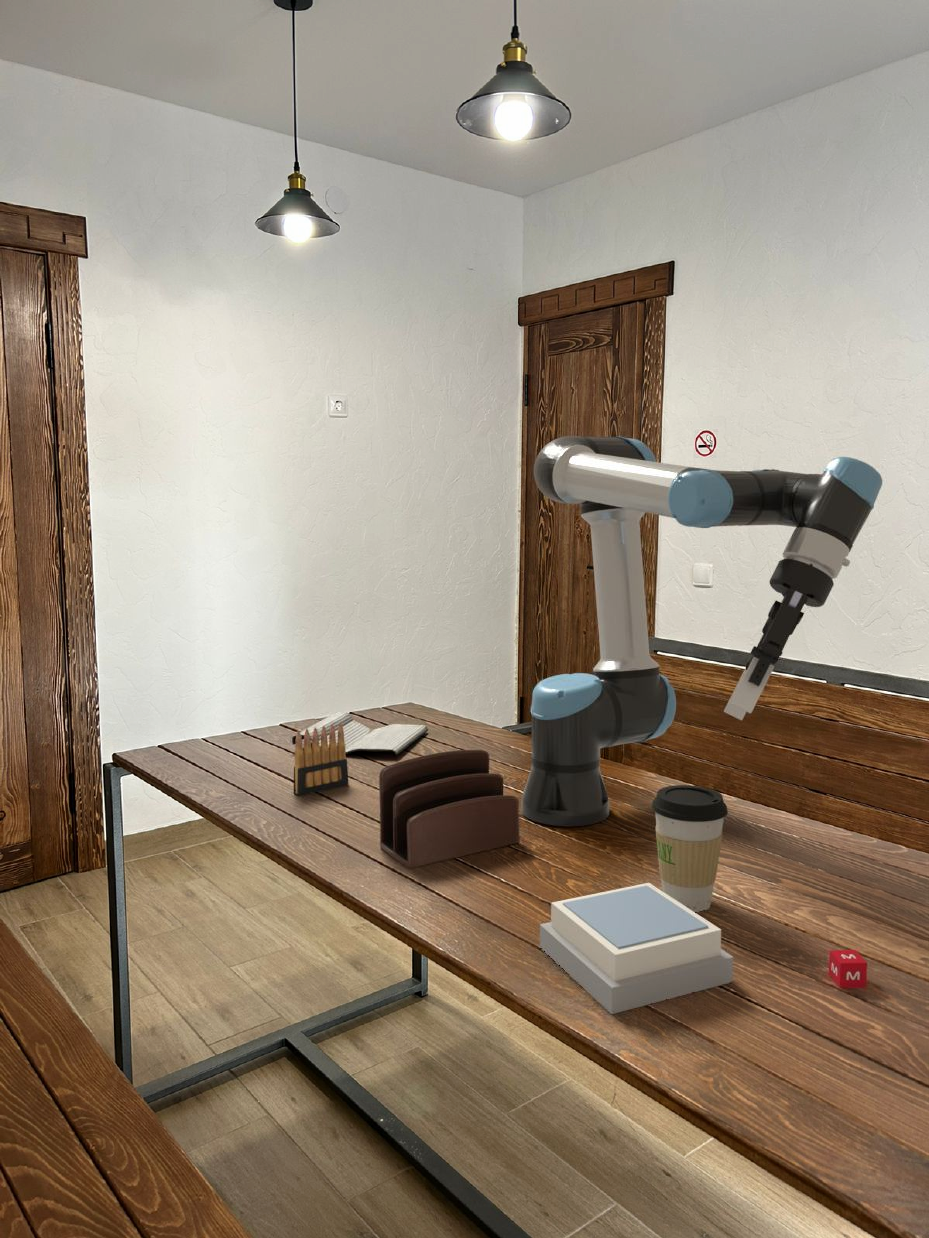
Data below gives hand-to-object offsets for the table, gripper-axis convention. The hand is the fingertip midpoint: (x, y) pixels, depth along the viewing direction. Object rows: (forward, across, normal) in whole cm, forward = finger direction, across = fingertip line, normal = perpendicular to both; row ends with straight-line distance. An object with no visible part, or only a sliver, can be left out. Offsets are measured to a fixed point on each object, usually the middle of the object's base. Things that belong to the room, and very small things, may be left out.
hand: (736, 712), depth 123 cm
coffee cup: (+26, +6, -6) cm, 27 cm away
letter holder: (+37, +20, +29) cm, 51 cm away
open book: (+36, +72, +65) cm, 104 cm away
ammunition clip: (+43, +41, +59) cm, 84 cm away
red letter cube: (+23, -10, -24) cm, 34 cm away
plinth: (+33, -11, -2) cm, 35 cm away
